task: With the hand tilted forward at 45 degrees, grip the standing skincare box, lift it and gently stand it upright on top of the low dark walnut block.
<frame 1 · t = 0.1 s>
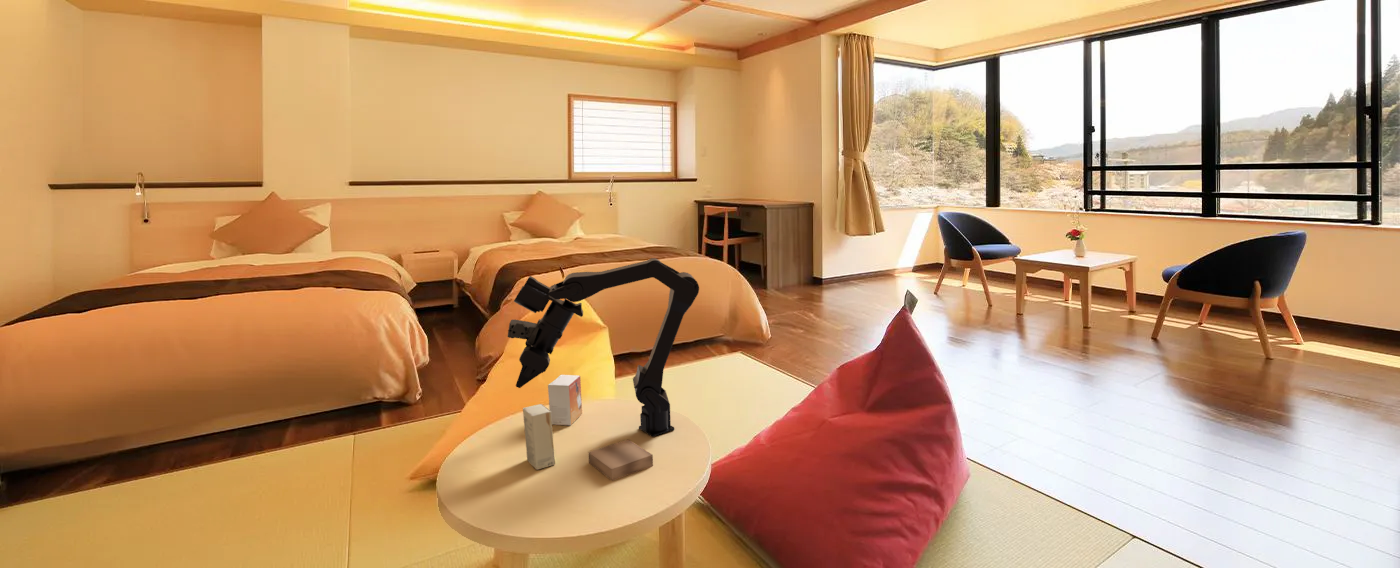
hand: (519, 380, 147), 15 cm above the table, tool tilted 35°, fingers open, 9 cm apart
skincare box: (540, 463, 139), on the table
small box: (566, 420, 162), on the table
walnut block: (620, 466, 137), on the table
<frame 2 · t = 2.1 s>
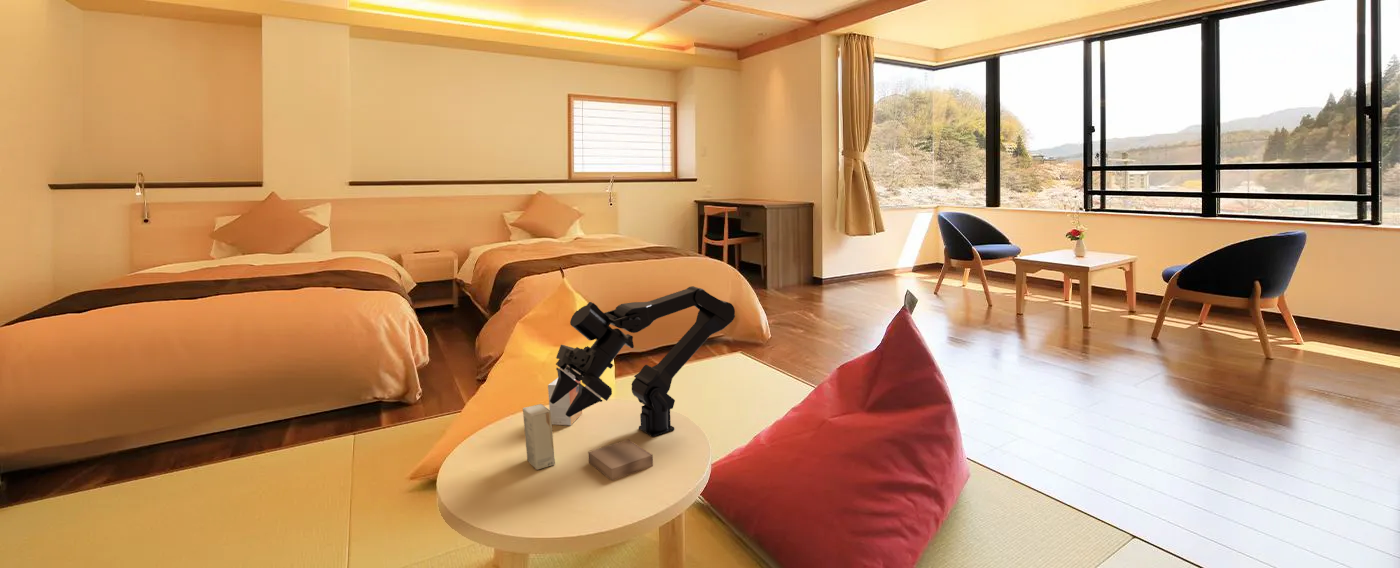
hand: (559, 409, 139), 11 cm above the table, tool tilted 45°, fingers open, 9 cm apart
nothing on the table moved.
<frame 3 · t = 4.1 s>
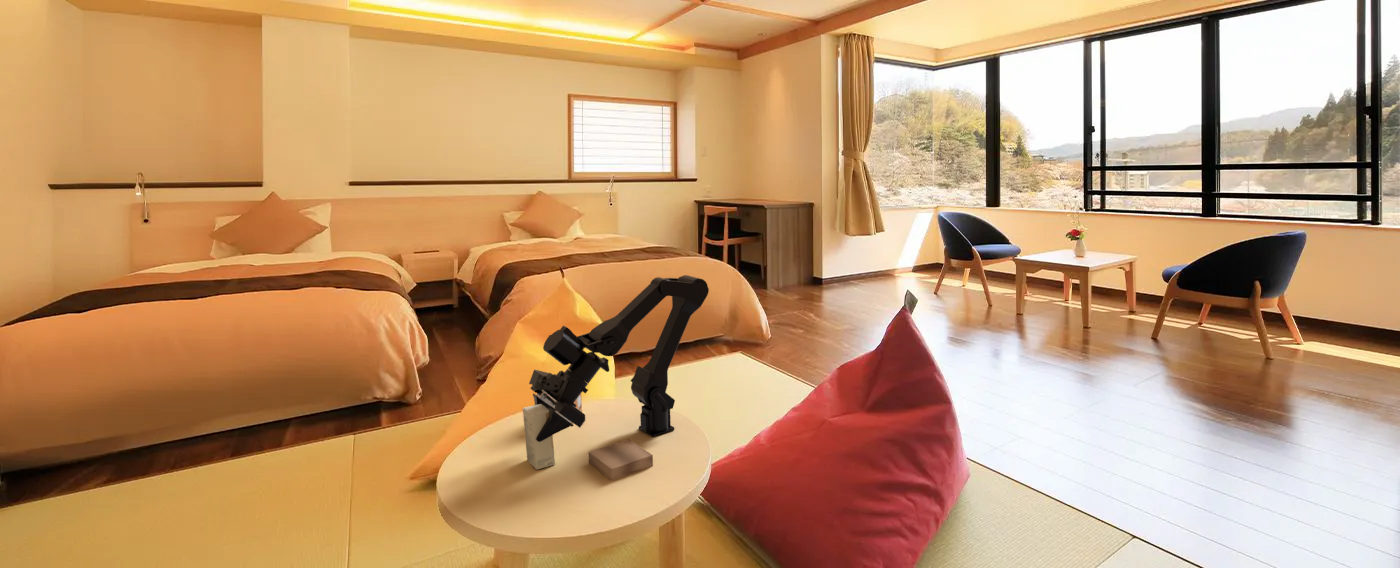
hand: (532, 435, 136), 7 cm above the table, tool tilted 45°, fingers closed on skincare box, 6 cm apart
skincare box: (540, 463, 139), on the table, touching gripper
everything else where it was.
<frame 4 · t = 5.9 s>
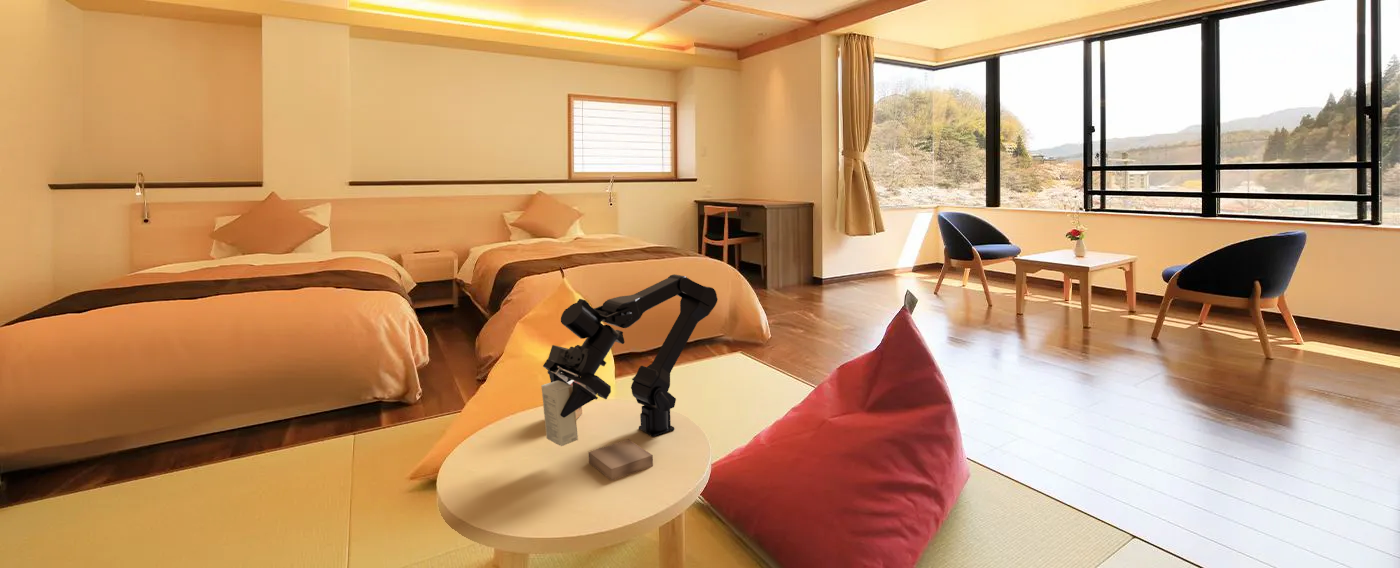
hand: (553, 412, 134), 13 cm above the table, tool tilted 45°, fingers closed on skincare box, 6 cm apart
skincare box: (561, 440, 136), point 6 cm above the table, touching gripper
everything else where it was.
when the fingers open (10 cm above the table, at t = 8.3 s): skincare box stays where it is, point 2 cm above the table.
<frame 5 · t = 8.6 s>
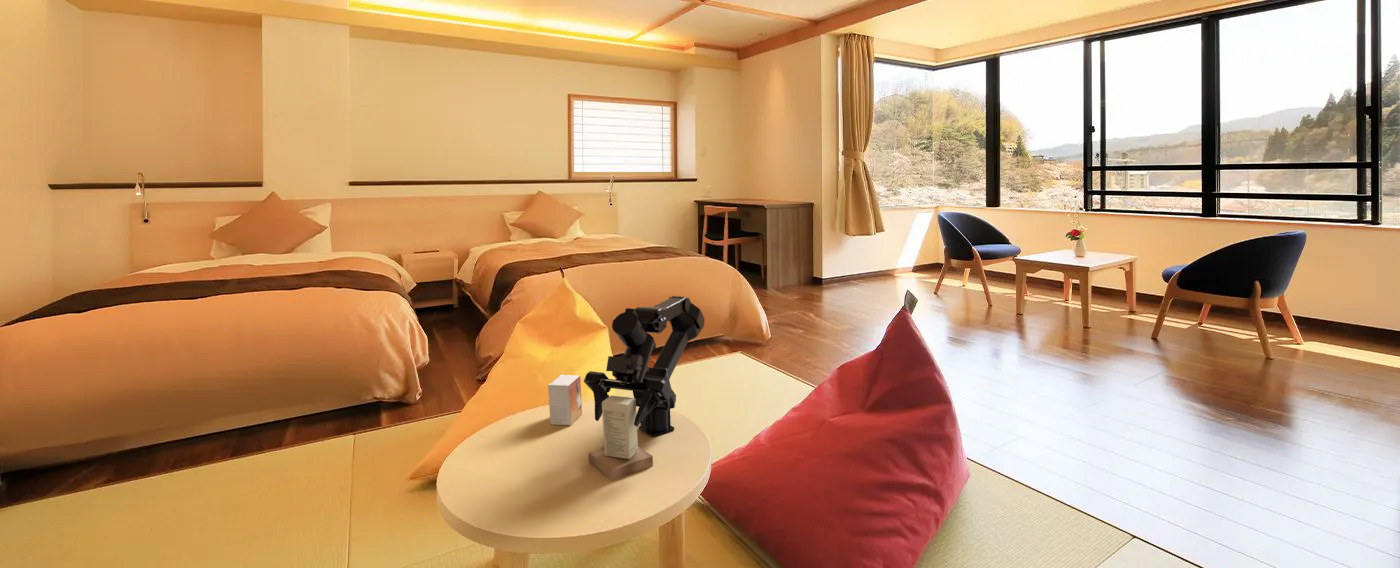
hand: (615, 422, 134), 10 cm above the table, tool tilted 45°, fingers open, 9 cm apart
skincare box: (620, 454, 137), point 2 cm above the table
everything else where it was.
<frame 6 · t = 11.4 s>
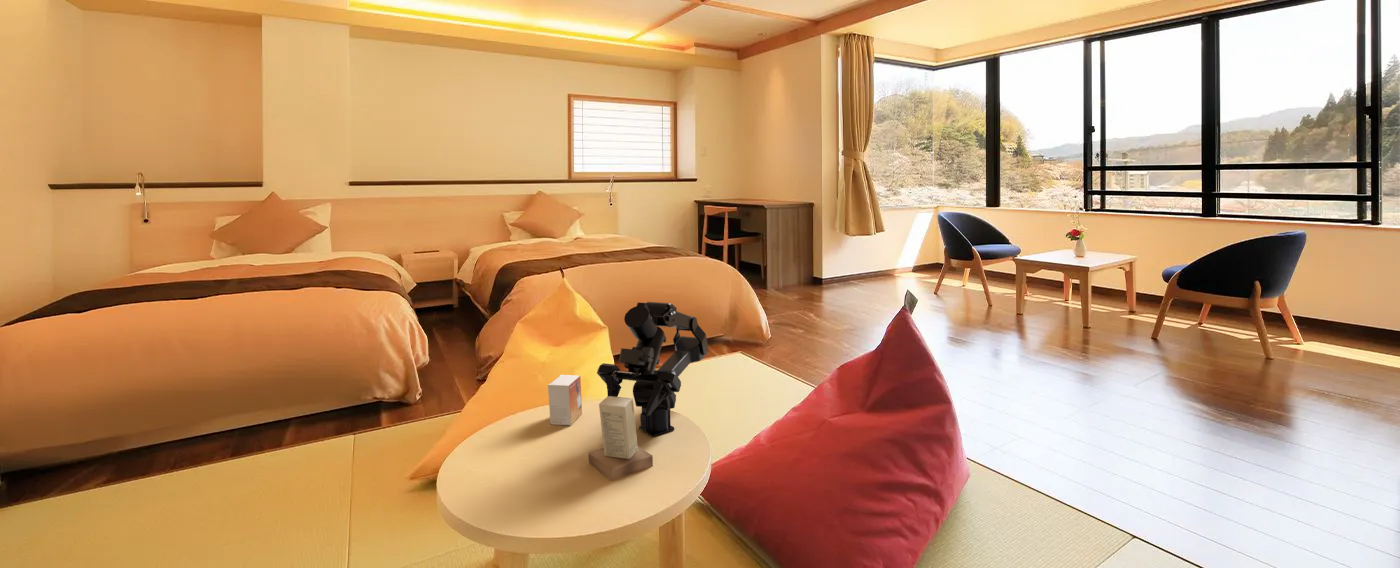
hand: (628, 412, 139), 10 cm above the table, tool tilted 45°, fingers open, 9 cm apart
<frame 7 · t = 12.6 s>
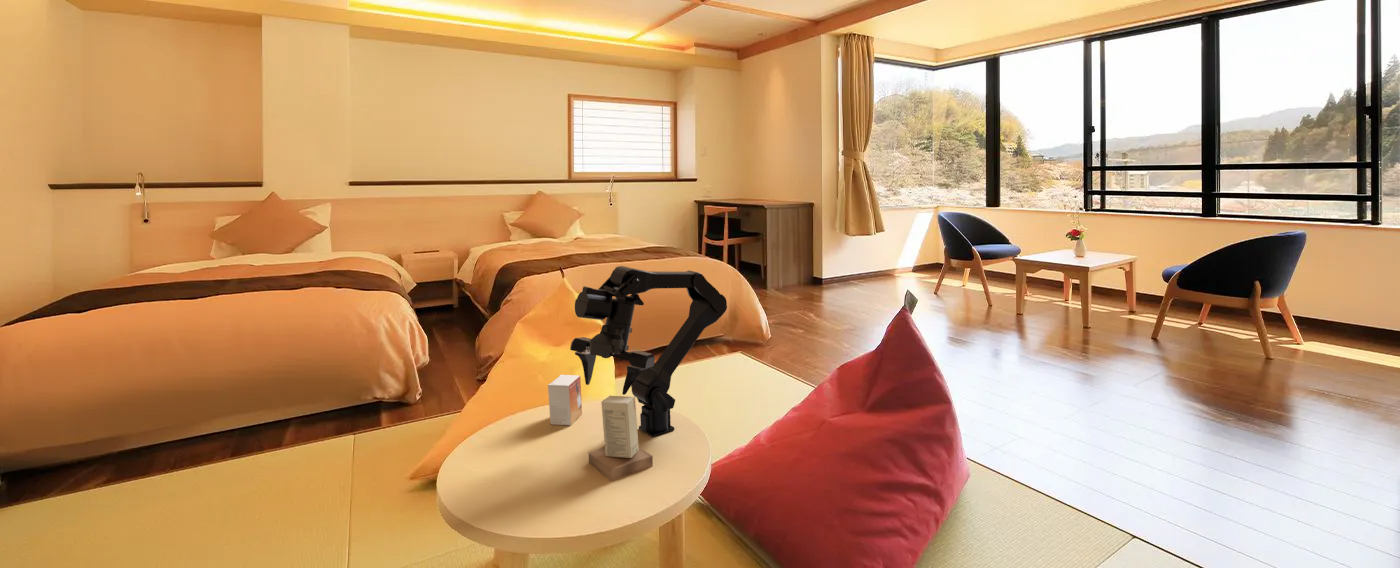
hand: (605, 389, 144), 13 cm above the table, tool tilted 15°, fingers open, 9 cm apart
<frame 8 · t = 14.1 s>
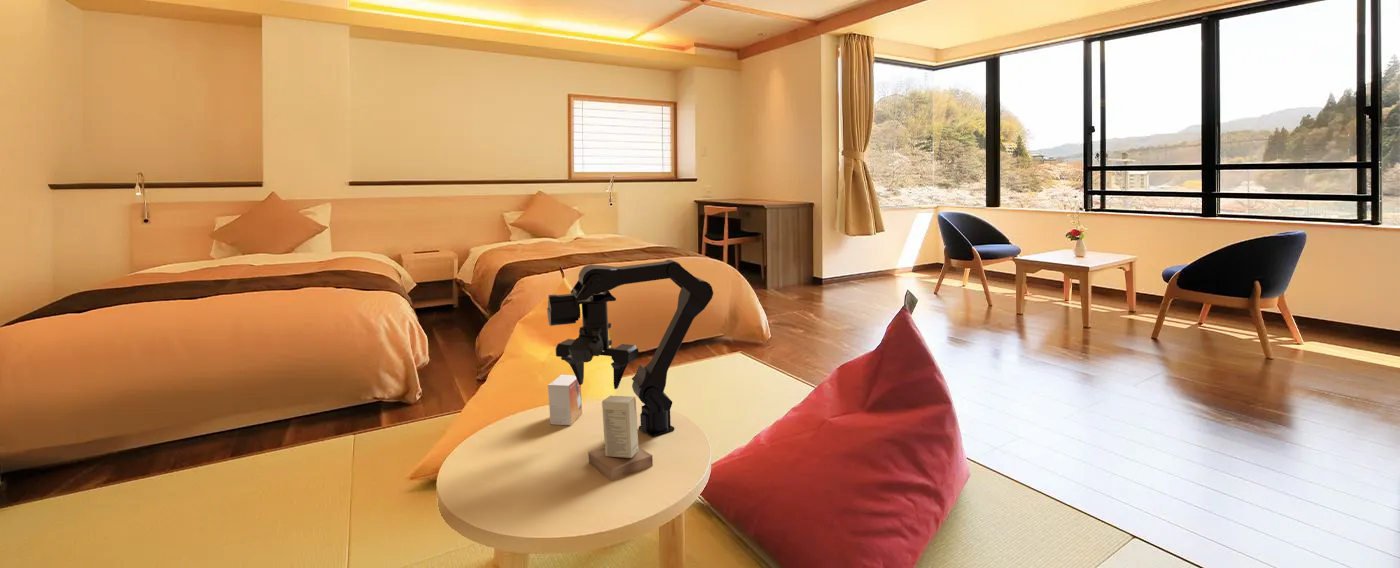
hand: (598, 386, 147), 13 cm above the table, tool pointing down, fingers open, 9 cm apart
skincare box: (621, 454, 136), point 2 cm above the table, touching walnut block
walnut block: (620, 467, 137), on the table, touching skincare box
everything else where it was.
at the end: skincare box 0.3 cm off-centre on the walnut block, point 2.9 cm above the walnut block's base; skincare box tilted 3°; the gripper is holding nothing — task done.
